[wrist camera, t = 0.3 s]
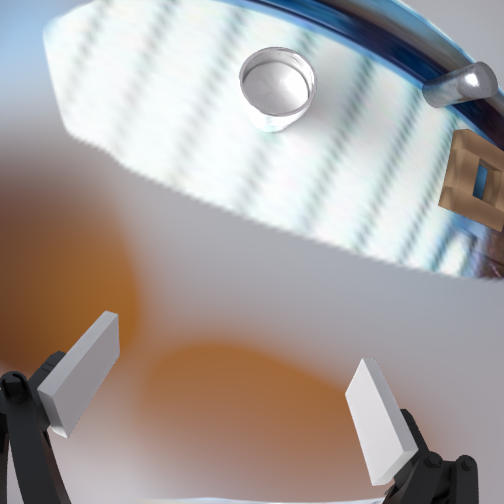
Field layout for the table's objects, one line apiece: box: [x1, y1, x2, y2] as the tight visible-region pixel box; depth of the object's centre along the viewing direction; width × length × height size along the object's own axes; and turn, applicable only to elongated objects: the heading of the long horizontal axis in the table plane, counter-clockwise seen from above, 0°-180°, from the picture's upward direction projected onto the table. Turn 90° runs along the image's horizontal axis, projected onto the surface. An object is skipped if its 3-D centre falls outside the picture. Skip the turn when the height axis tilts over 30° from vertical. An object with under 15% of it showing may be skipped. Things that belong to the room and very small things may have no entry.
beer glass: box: [238, 47, 317, 132], centre depth 29 cm, size 7×7×15 cm
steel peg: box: [422, 62, 498, 108], centre depth 28 cm, size 4×4×13 cm
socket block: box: [438, 129, 504, 232], centre depth 35 cm, size 12×12×4 cm
